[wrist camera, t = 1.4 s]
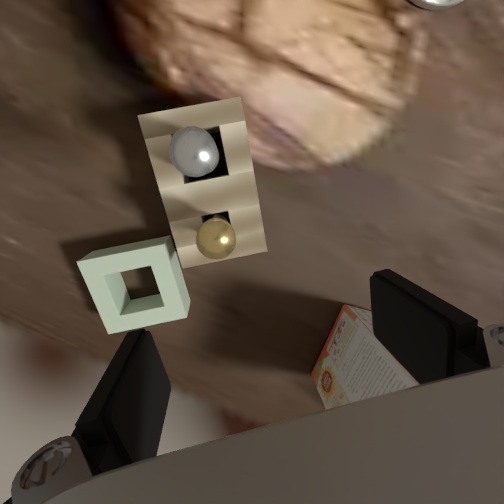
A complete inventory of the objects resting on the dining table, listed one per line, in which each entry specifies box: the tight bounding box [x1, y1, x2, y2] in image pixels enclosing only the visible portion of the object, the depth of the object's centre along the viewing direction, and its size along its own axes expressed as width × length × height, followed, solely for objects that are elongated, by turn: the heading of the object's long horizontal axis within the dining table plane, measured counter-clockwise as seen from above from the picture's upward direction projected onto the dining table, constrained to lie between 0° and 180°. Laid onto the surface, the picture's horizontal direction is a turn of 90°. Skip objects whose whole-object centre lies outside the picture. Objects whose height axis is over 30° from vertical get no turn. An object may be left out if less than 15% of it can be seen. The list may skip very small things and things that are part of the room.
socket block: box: [137, 97, 267, 268], centre depth 30 cm, size 16×10×5 cm, turn 10°
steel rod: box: [169, 126, 220, 177], centre depth 25 cm, size 4×4×12 cm
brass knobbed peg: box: [196, 213, 236, 260], centre depth 27 cm, size 4×4×8 cm
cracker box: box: [311, 304, 420, 409], centre depth 32 cm, size 14×6×21 cm, turn 162°
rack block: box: [77, 235, 191, 334], centre depth 33 cm, size 10×10×4 cm
